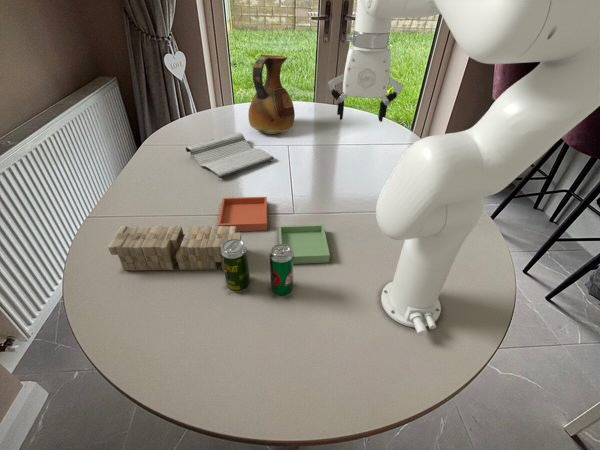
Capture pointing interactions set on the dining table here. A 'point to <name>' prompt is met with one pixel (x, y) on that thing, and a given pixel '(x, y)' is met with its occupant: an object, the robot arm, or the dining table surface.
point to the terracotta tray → (244, 213)
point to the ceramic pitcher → (270, 98)
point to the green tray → (305, 243)
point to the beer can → (235, 265)
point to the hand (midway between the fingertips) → (360, 118)
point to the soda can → (281, 269)
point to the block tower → (170, 247)
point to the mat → (227, 154)
